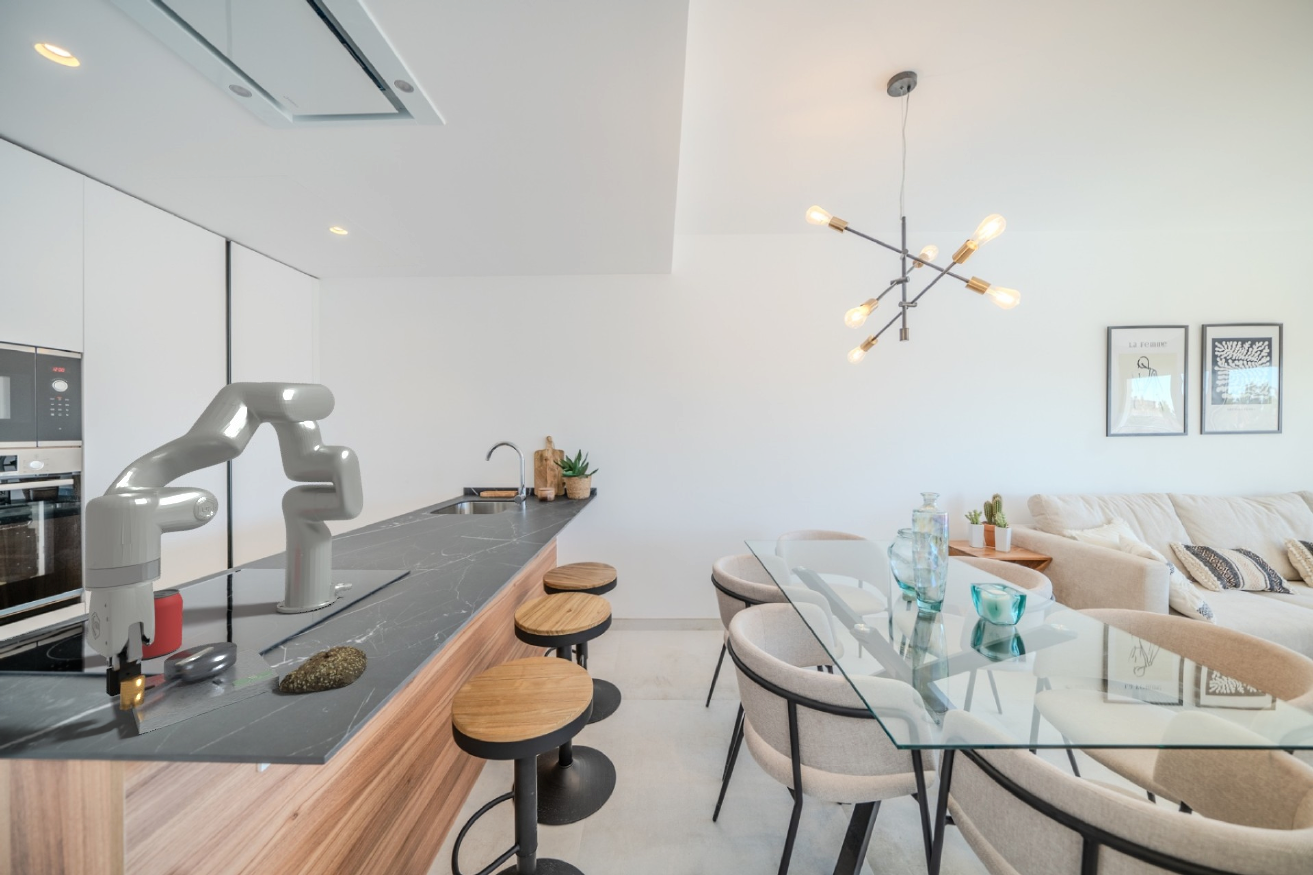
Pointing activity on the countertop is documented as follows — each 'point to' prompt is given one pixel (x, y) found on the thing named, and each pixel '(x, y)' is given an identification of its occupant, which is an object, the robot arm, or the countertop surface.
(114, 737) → the countertop surface
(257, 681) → the plate
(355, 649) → the bread roll
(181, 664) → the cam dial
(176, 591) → the beer can
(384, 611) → the countertop surface
